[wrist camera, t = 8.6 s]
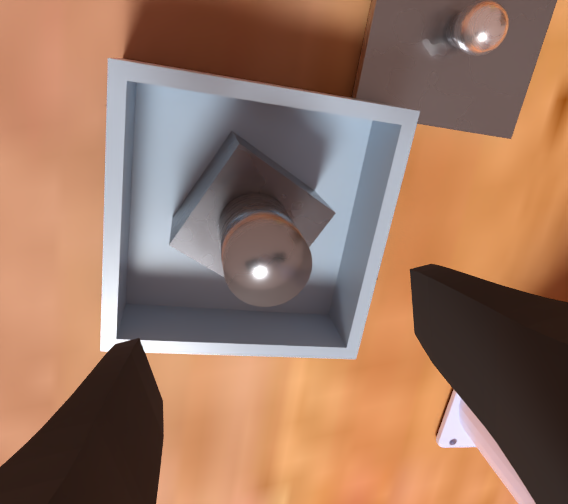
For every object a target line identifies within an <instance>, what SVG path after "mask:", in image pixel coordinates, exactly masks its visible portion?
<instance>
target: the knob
mask: <svg viewBox="0 0 568 504" xmlns="http://www.w3.org/2000/svg"><path fill="white" fill-rule="evenodd" d="M335 214H336V213H335V212H334V210H333V209H332V208H331V207H330V206H329V205H328V204H327V203H326V202H325V201H324V200H323V199H322V198H321V197H320V196H319V195H318V194H317V193H316V192H315V191H314V190H313V189H312V188H310V187H309V186H308V185H306V184H305V183H303V182H302V181H301V180H299V179H298V178H297V177H295V176H294V175H292V174H291V173H290V172H288V171H287V170H285V169H284V168H283V167H281V166H280V165H279V164H277V163H276V162H274V161H273V160H272V159H270V158H269V157H268V156H266V155H265V154H263V153H262V152H261V151H259V150H258V149H257V148H255V147H254V146H252V145H251V144H250V143H248V142H247V141H246V140H244V139H243V138H241V137H240V136H239V135H237V134H236V133H234V132H233V131H231V132H230V134H229V135H228V137H227V138H226V140H225V141H224V143H223V144H222V146H221V147H220V149H219V150H218V151H217V153H216V154H215V156H214V157H213V159H212V160H211V162H210V163H209V165H208V166H207V167H206V169H205V170H204V172H203V173H202V175H201V176H200V178H199V179H198V181H197V182H196V183H195V185H194V186H193V188H192V189H191V191H190V192H189V194H188V195H187V197H186V198H185V200H184V201H183V202H182V204H181V205H180V207H179V208H178V210H177V211H176V213H175V214H174V216H173V217H172V224H171V233H170V241H169V246H171V247H173V248H174V249H176V250H178V251H180V252H181V253H183V254H185V255H186V256H188V257H190V258H192V259H193V260H195V261H197V262H199V263H200V264H202V265H204V266H205V267H207V268H209V269H211V270H212V271H214V272H216V273H218V274H219V275H221V276H223V277H224V278H225V281H226V283H227V285H228V287H229V289H230V290H231V292H232V293H233V294H234V295H235V296H236V297H237V298H239V299H240V300H242V301H243V302H245V303H247V304H250V305H254V306H259V307H271V306H276V305H280V304H283V303H285V302H287V301H289V300H291V299H292V298H294V297H295V296H296V295H297V294H299V293H300V292H301V290H302V289H303V288H304V287H305V285H306V284H307V282H308V280H309V278H310V275H311V271H312V255H311V251H310V249H309V247H310V246H311V245H312V243H313V242H314V241H315V239H316V238H317V237H318V236H319V234H320V233H321V232H322V230H323V229H324V228H325V227H326V225H327V224H328V223H329V221H330V220H331V219H332V218H333V216H334V215H335Z"/></svg>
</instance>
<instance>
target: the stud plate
mask: <svg viewBox="0 0 568 504" xmlns="http://www.w3.org/2000/svg"><path fill="white" fill-rule="evenodd" d="M556 2H557V0H372V1H371V6H370V10H369V15H368V20H367V25H366V30H365V35H364V40H363V44H362V49H361V54H360V59H359V64H358V69H357V74H356V78H355V83H354V88H353V93H352V98H355V99H361V100H366V101H372V102H378V103H384V104H390V105H394V106H399V107H403V108H408V109H412V110H417V111H420V114H419V118H418V122H417V124H423V125H429V126H435V127H441V128H447V129H453V130H460V131H466V132H472V133H478V134H484V135H490V136H496V137H502V138H509V139H511V137H512V134H513V131H514V128H515V125H516V122H517V119H518V116H519V113H520V110H521V107H522V104H523V101H524V98H525V95H526V92H527V89H528V86H529V83H530V80H531V77H532V74H533V71H534V68H535V65H536V62H537V59H538V56H539V53H540V50H541V47H542V44H543V41H544V38H545V35H546V32H547V29H548V26H549V23H550V20H551V17H552V14H553V11H554V8H555V5H556Z"/></svg>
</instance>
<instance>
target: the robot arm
mask: <svg viewBox="0 0 568 504" xmlns="http://www.w3.org/2000/svg"><path fill="white" fill-rule="evenodd" d="M410 276H411V290H412V303H413V317H414V331H415V335H416V336H417V338H418V340H419V341H420V343H421V345H422V347H423V348H424V350H425V352H426V353H427V355H428V356H429V358H430V360H431V361H432V363H433V364H434V365H435V367H436V368H437V369H438V370H439V372H440V373H441V374H442V375H443V377H444V378H445V379H446V380H447V382H448V383H449V384H450V385H451V387H452V388H453V389H454V390H453V392H452V395H451V398H450V401H449V404H448V406H447V409H446V412H445V415H444V418H443V420H442V423H441V426H440V429H439V432H438V434H437V437H436V442H437V443H438V445H439V446H440V447H443V448H447V447H477V448H478V450H479V451H480V452H481V454H482V455H483V456H484V458H485V459H486V460H487V462H488V463H489V464H490V466H491V467H492V469H493V470H494V471H495V473H496V474H497V475H498V477H499V478H500V479H501V481H502V482H503V483H504V485H505V486H506V487H507V489H508V490H509V492H510V493H511V494H512V496H513V497H514V498H515V500H516V501H517V502H518V504H568V302H563V301H558V300H554V299H549V298H545V297H541V296H538V295H534V294H530V293H526V292H523V291H519V290H516V289H512V288H509V287H505V286H502V285H499V284H496V283H493V282H490V281H486V280H483V279H480V278H477V277H474V276H471V275H468V274H465V273H462V272H459V271H456V270H453V269H450V268H446V267H443V266H439V265H435V264H429V265H425V266H421V267H417V268H413V269H410ZM163 437H164V434H163V400H162V397H161V395H160V392H159V389H158V387H157V384H156V381H155V379H154V376H153V373H152V370H151V368H150V365H149V362H148V360H147V357H146V354H145V352H144V349H143V346H142V344H141V341H140V338H137V339H133V340H129V341H125V342H121V343H117V344H115V345H114V346H113V347H112V348H111V349H110V350H109V351H108V352H107V353H106V355H105V356H104V357H103V358H102V359H101V361H100V362H99V363H98V364H97V365H96V367H95V368H94V369H93V370H92V372H91V373H90V374H89V375H88V376H87V378H86V379H85V380H84V381H83V382H82V384H81V385H80V386H79V387H78V388H77V390H76V391H75V392H74V393H73V394H72V395H71V397H70V398H69V399H68V400H67V401H66V402H65V403H64V404H63V405H62V406H61V408H60V409H59V410H58V411H57V412H56V413H55V414H54V415H53V416H52V417H51V418H50V420H49V421H48V422H47V423H46V424H45V425H44V426H43V427H42V428H41V429H40V430H39V431H38V432H37V433H36V434H35V435H34V436H33V437H32V438H31V439H30V440H29V441H28V442H27V443H26V444H25V445H24V446H23V447H22V448H21V449H20V450H19V451H17V452H16V453H15V454H14V455H13V456H12V457H11V458H10V459H9V460H8V461H7V462H5V463H4V464H3V465H2V466H1V467H0V504H156V499H157V491H158V482H159V474H160V465H161V456H162V447H163Z"/></svg>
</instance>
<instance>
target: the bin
mask: <svg viewBox="0 0 568 504" xmlns="http://www.w3.org/2000/svg"><path fill="white" fill-rule="evenodd" d="M419 114H420V111H417V110H412V109H408V108H403V107H399V106H394V105H390V104H384V103H378V102H372V101H366V100H361V99H355V98H351V97H345V96H339V95H333V94H327V93H321V92H316V91H310V90H304V89H298V88H292V87H286V86H281V85H275V84H269V83H263V82H257V81H251V80H246V79H240V78H234V77H228V76H222V75H216V74H211V73H205V72H199V71H193V70H187V69H181V68H176V67H170V66H164V65H158V64H152V63H146V62H141V61H135V60H129V59H123V58H108V79H107V116H106V154H105V192H104V230H103V268H102V305H101V343H100V351H109V350H110V349H111V348H112V347H113V346H114V345H115V344H117V343H121V342H125V341H129V340H133V339H137V338H140V341H141V344H142V346H143V349H144V352H145V353H174V354H205V355H237V356H269V357H301V358H333V359H356V357H357V353H358V350H359V346H360V342H361V338H362V334H363V330H364V326H365V323H366V319H367V315H368V311H369V307H370V303H371V299H372V296H373V292H374V288H375V284H376V280H377V276H378V272H379V268H380V265H381V261H382V257H383V253H384V249H385V245H386V241H387V238H388V234H389V230H390V226H391V222H392V218H393V214H394V211H395V207H396V203H397V199H398V195H399V191H400V187H401V183H402V180H403V176H404V172H405V168H406V164H407V160H408V156H409V153H410V149H411V145H412V141H413V137H414V133H415V129H416V126H417V122H418V118H419ZM231 131H233V132H234V133H236V134H237V135H239V136H240V137H241V138H243V139H244V140H246V141H247V142H248V143H250V144H251V145H252V146H254V147H255V148H257V149H258V150H259V151H261V152H262V153H263V154H265V155H266V156H268V157H269V158H270V159H272V160H273V161H274V162H276V163H277V164H279V165H280V166H281V167H283V168H284V169H285V170H287V171H288V172H290V173H291V174H292V175H294V176H295V177H297V178H298V179H299V180H301V181H302V182H303V183H305V184H306V185H308V186H309V187H310V188H312V189H313V190H314V191H315V192H316V193H317V194H318V195H319V196H320V197H321V198H322V199H323V200H324V201H325V202H326V203H327V204H328V205H329V206H330V207H331V208H332V209H333V210H334V212H335V213H336V214H335V215H334V216H333V218H332V219H331V220H330V221H329V223H328V224H327V225H326V227H325V228H324V229H323V230H322V232H321V233H320V234H319V236H318V237H317V238H316V239H315V241H314V242H313V243H312V245H311V246H310V247H309V249H310V251H311V255H312V271H311V275H310V278H309V280H308V282H307V284H306V285H305V287H304V288H303V289H302V290H301V292H300V293H299V294H297V295H296V296H295V297H294V298H292V299H291V300H289V301H287V302H285V303H283V304H280V305H276V306H271V307H259V306H254V305H250V304H247V303H245V302H243V301H242V300H240V299H239V298H237V297H236V296H235V295H234V294H233V293H232V292H231V290H230V289H229V287H228V285H227V283H226V281H225V278H224V277H223V276H221V275H219V274H218V273H216V272H214V271H212V270H211V269H209V268H207V267H205V266H204V265H202V264H200V263H199V262H197V261H195V260H193V259H192V258H190V257H188V256H186V255H185V254H183V253H181V252H180V251H178V250H176V249H174V248H173V247H171V246H169V241H170V233H171V224H172V217H173V216H174V214H175V213H176V211H177V210H178V208H179V207H180V205H181V204H182V202H183V201H184V200H185V198H186V197H187V195H188V194H189V192H190V191H191V189H192V188H193V186H194V185H195V183H196V182H197V181H198V179H199V178H200V176H201V175H202V173H203V172H204V170H205V169H206V167H207V166H208V165H209V163H210V162H211V160H212V159H213V157H214V156H215V154H216V153H217V151H218V150H219V149H220V147H221V146H222V144H223V143H224V141H225V140H226V138H227V137H228V135H229V134H230V132H231Z"/></svg>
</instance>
